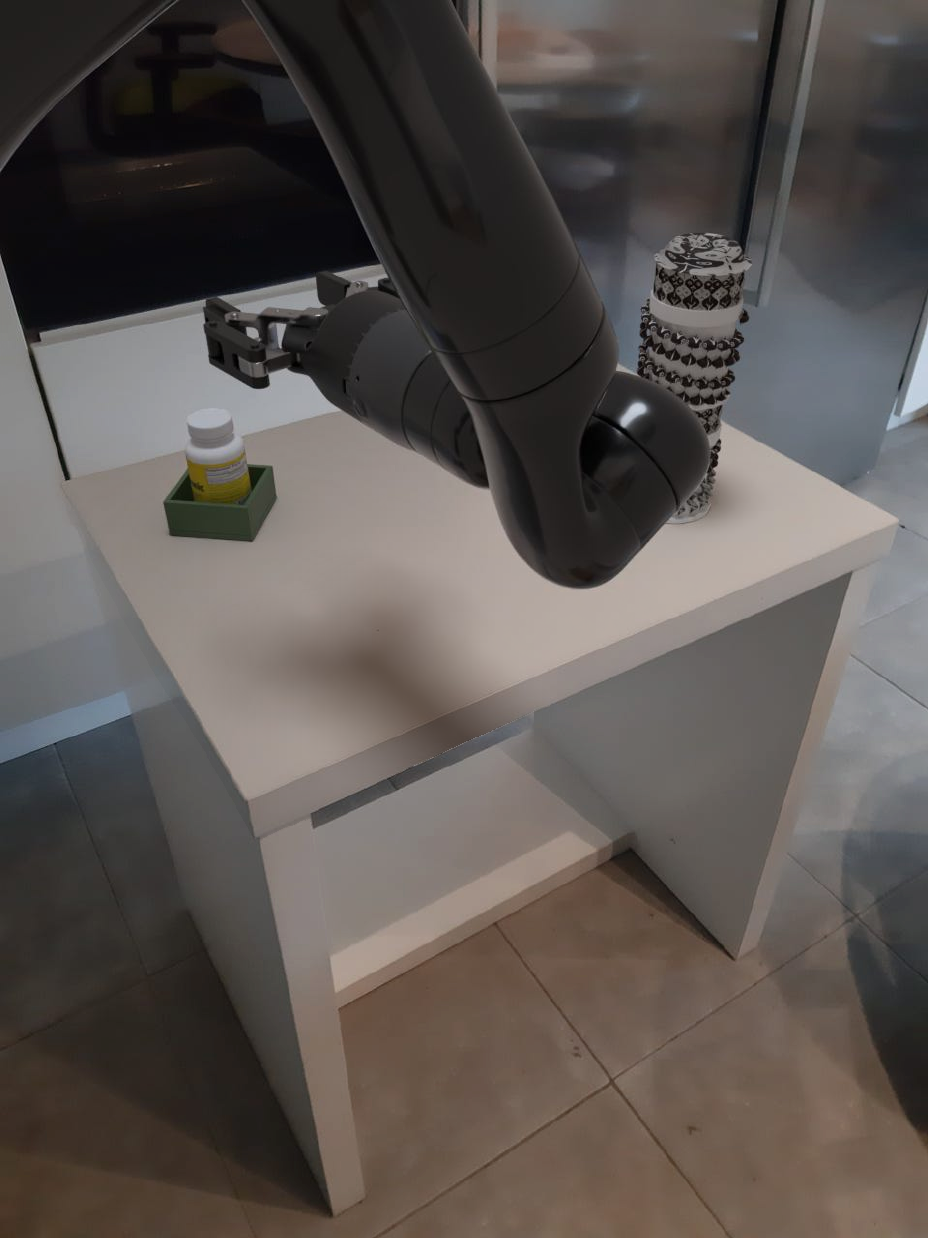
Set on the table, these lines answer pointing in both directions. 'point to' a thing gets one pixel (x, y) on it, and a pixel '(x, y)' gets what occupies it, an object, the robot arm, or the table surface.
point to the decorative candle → (695, 336)
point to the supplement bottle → (216, 458)
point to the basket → (221, 509)
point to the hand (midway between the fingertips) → (267, 298)
